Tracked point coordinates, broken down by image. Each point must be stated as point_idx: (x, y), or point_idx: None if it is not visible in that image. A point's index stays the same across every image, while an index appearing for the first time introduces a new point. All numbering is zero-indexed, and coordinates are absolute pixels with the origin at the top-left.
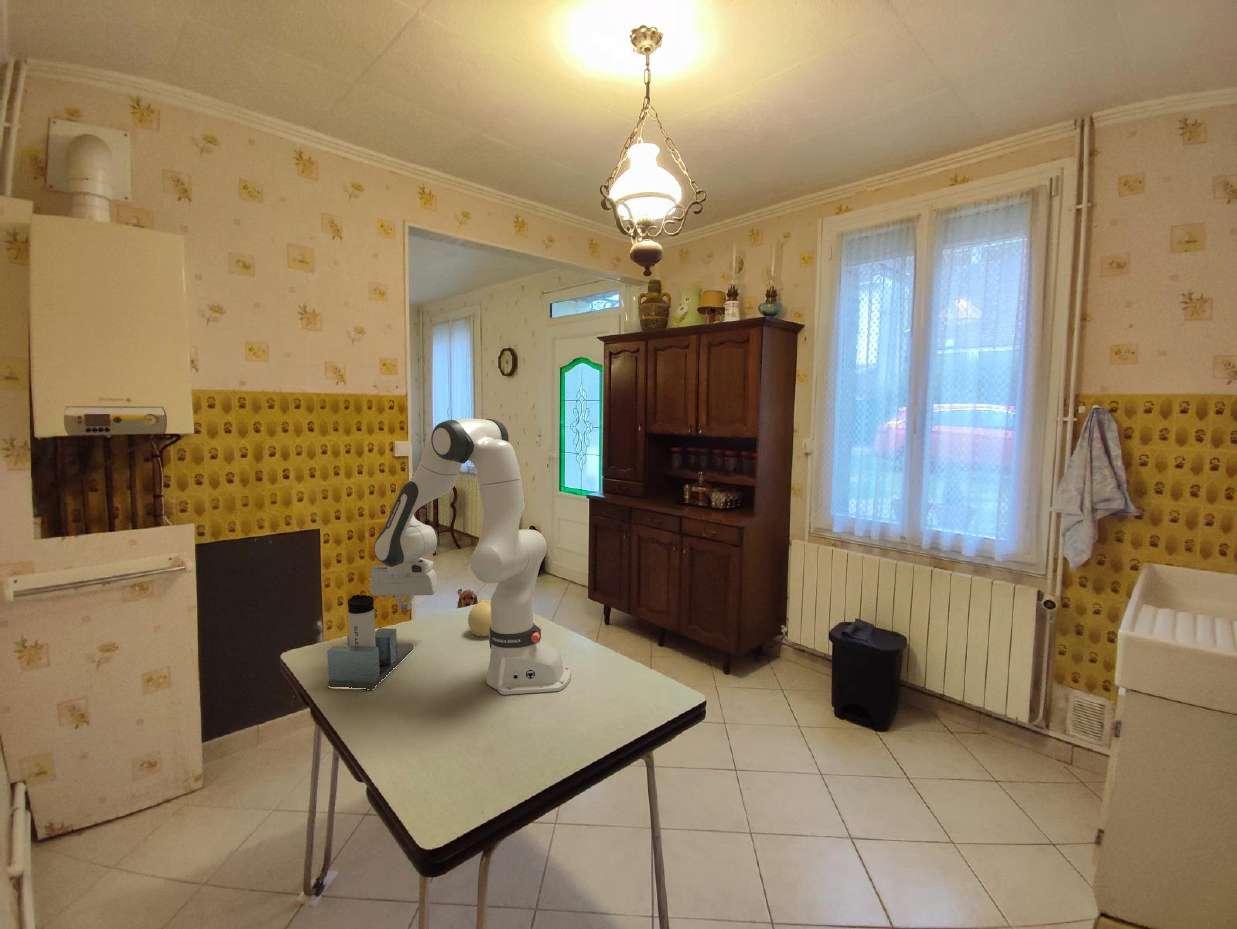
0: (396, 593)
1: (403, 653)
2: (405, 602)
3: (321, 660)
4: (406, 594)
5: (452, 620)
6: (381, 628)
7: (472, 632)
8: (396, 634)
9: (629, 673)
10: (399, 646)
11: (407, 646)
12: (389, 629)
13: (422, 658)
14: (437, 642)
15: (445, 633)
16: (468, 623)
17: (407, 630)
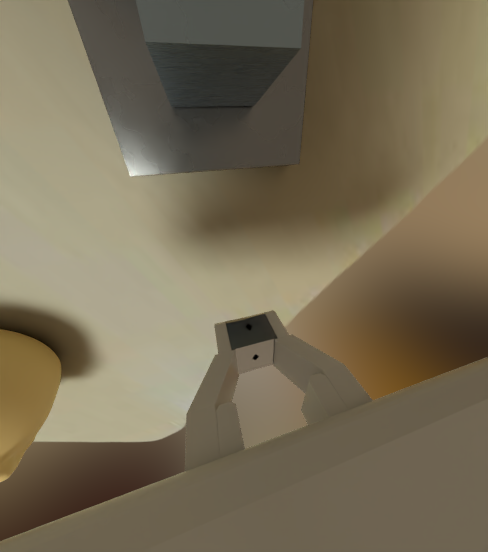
0: (384, 445)
1: (74, 13)
2: (259, 366)
3: (443, 27)
4: (231, 480)
5: (184, 371)
6: (284, 39)
7: (24, 336)
8: (156, 69)
9: None
10: (177, 140)
11: (138, 144)
12: (198, 6)
13: (17, 84)
14: (111, 263)
15: (142, 319)
16: (12, 362)
17: (257, 306)
